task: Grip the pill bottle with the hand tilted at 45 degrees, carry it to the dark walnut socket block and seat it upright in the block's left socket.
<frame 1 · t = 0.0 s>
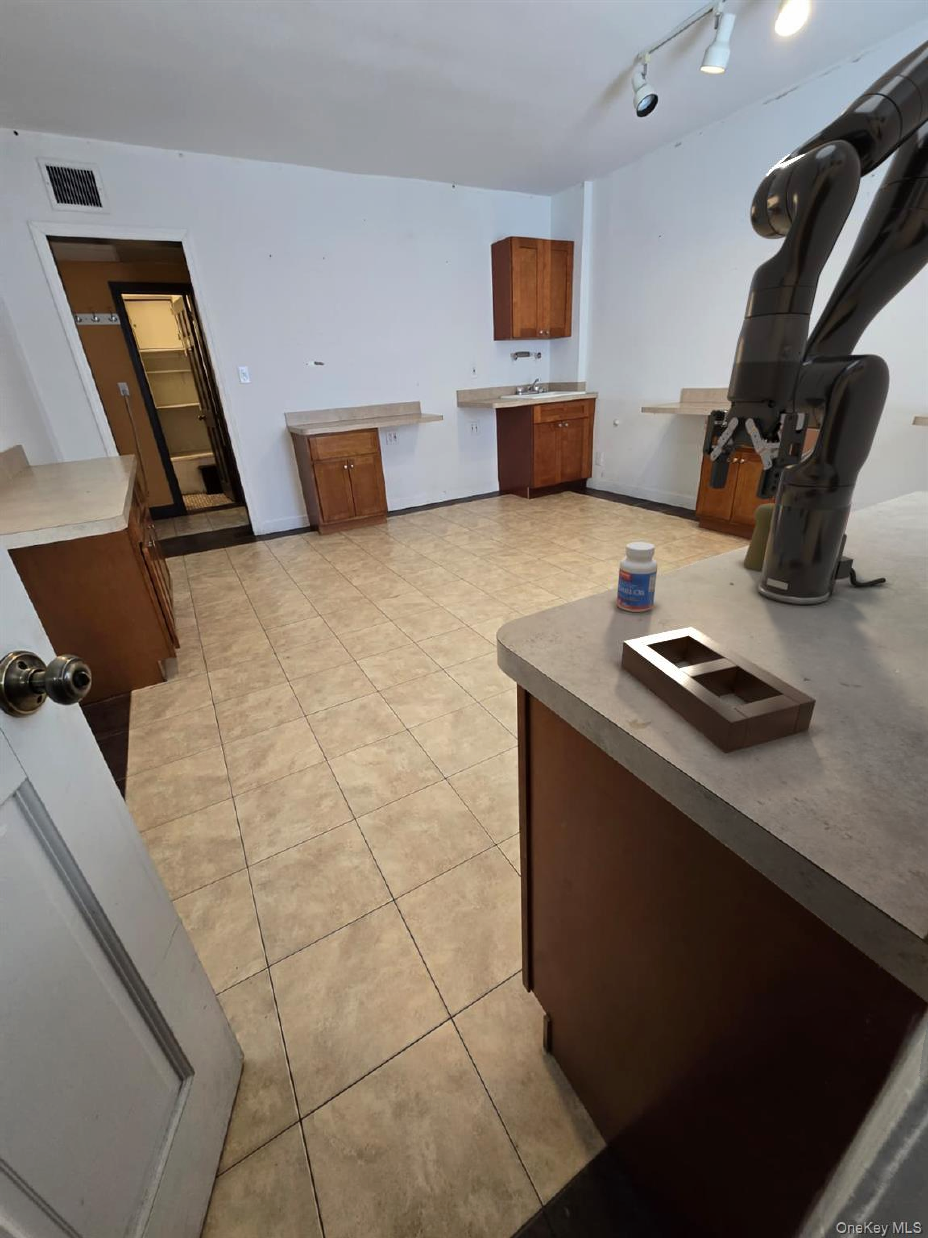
hand: (739, 493, 70), 17 cm above the countertop, tool pointing down, fingers open, 8 cm apart
pill bottle: (634, 607, 80), on the countertop
socket block: (703, 694, 57), on the countertop
soda can: (815, 556, 95), on the countertop
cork: (761, 566, 92), on the countertop
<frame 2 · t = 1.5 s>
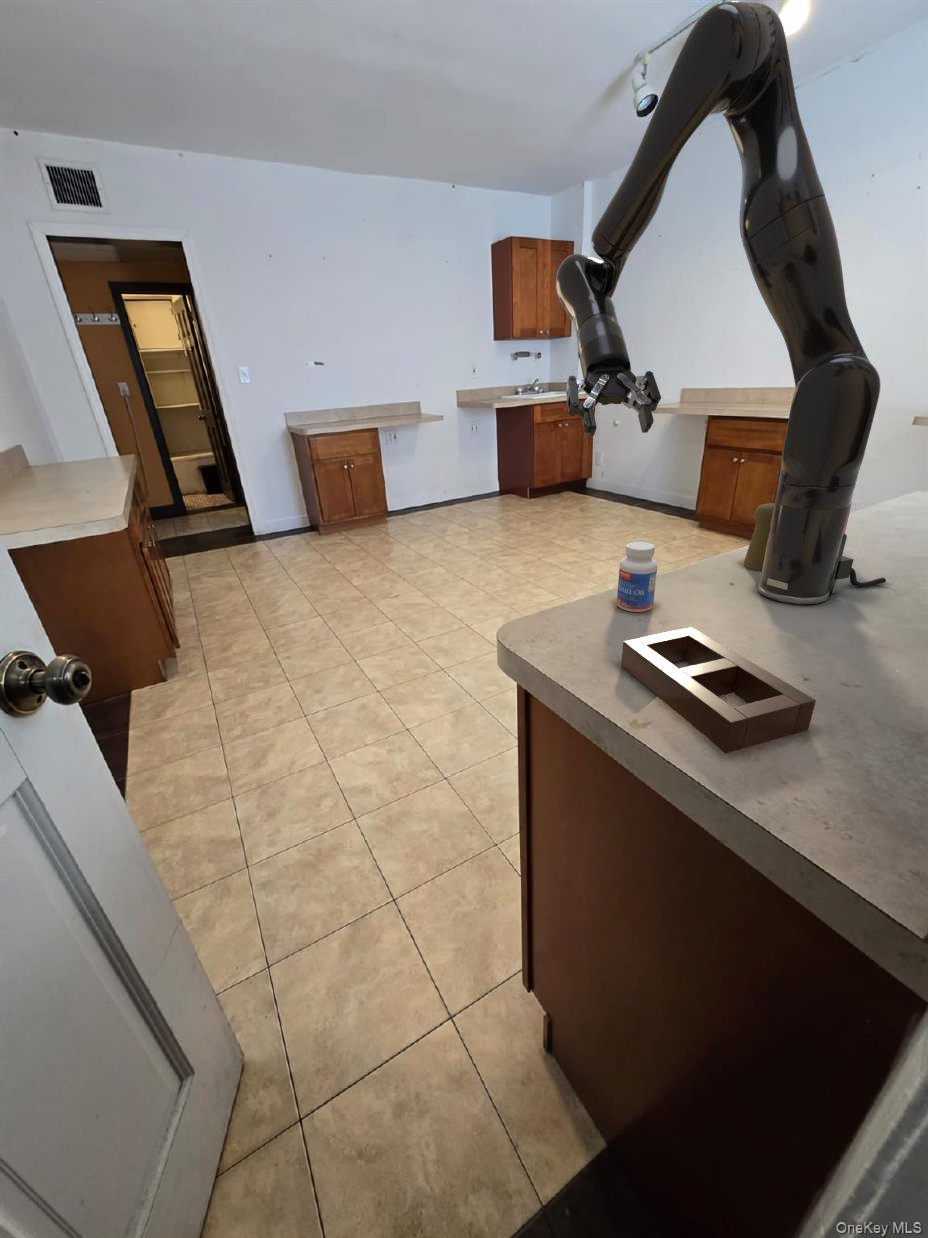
hand: (620, 430, 80), 25 cm above the countertop, tool tilted 45°, fingers open, 8 cm apart
nothing on the countertop moved.
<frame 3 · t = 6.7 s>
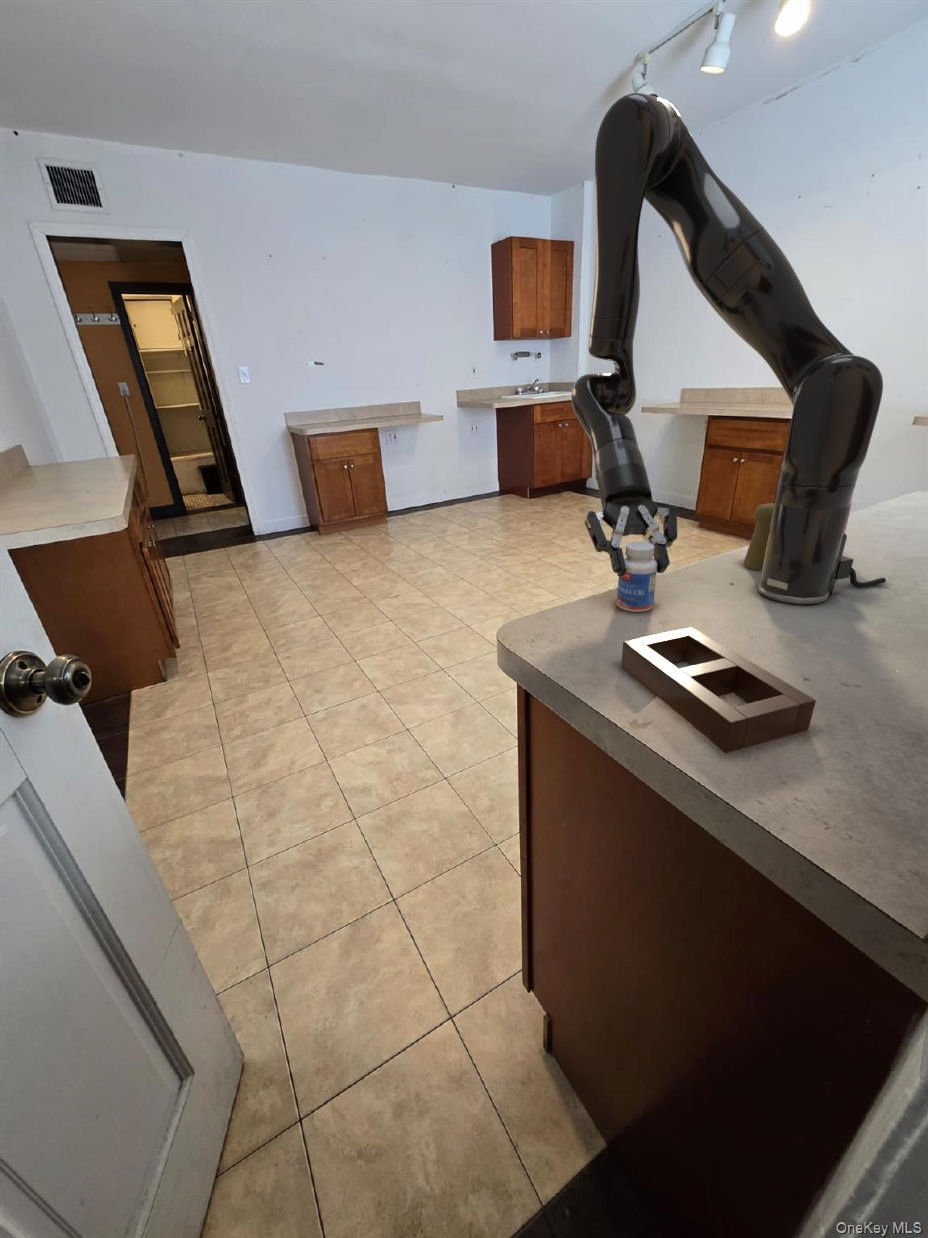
hand: (642, 571, 75), 6 cm above the countertop, tool tilted 45°, fingers closed on pill bottle, 5 cm apart
pill bottle: (634, 607, 80), on the countertop, touching gripper
everything else where it was.
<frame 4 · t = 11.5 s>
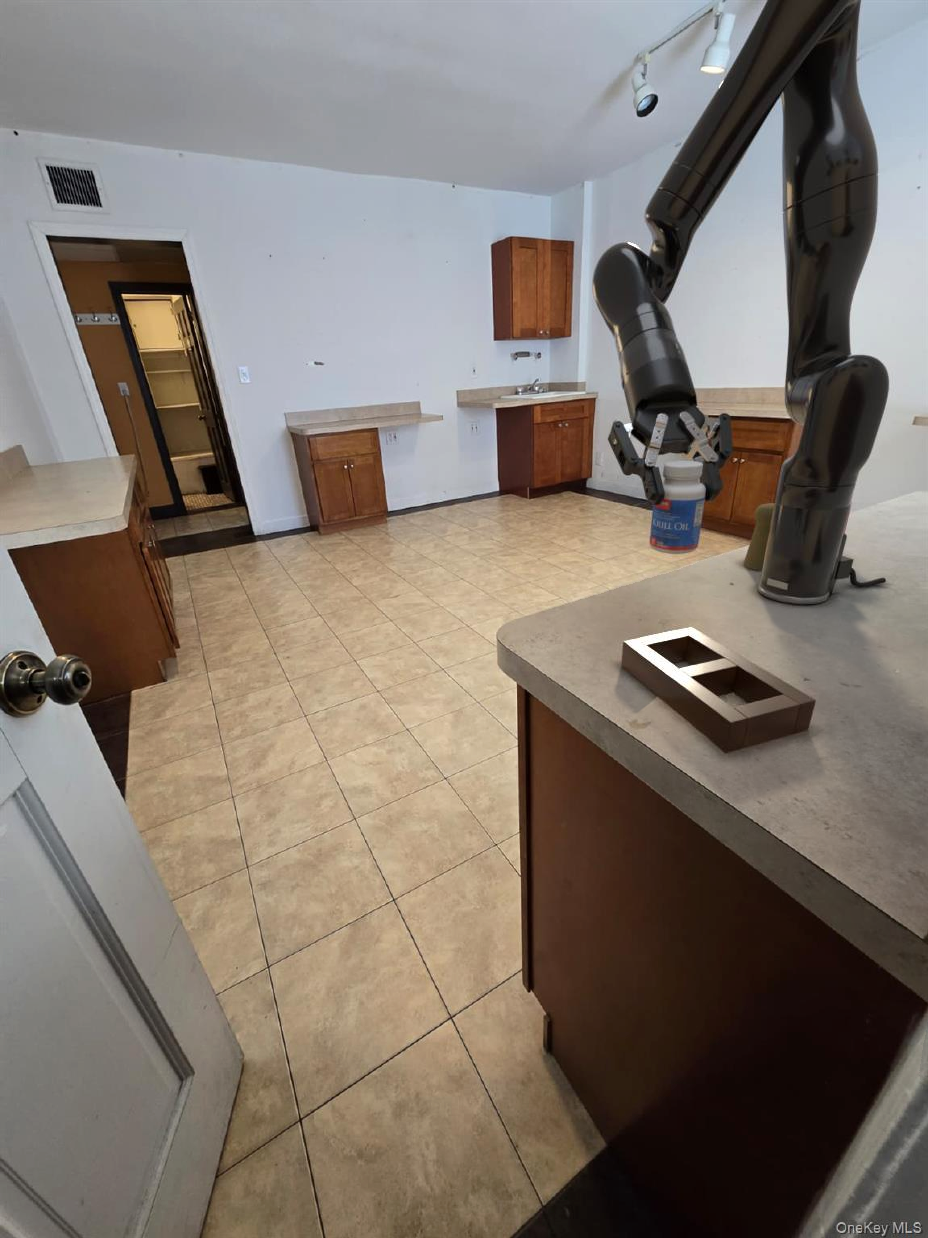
hand: (686, 498, 57), 20 cm above the countertop, tool tilted 45°, fingers closed on pill bottle, 5 cm apart
pill bottle: (673, 549, 61), point 14 cm above the countertop, touching gripper
everything else where it was.
when the fingers open (6 cm above the countertop, at t = 16.6 s): pill bottle stays where it is, resting in socket block.
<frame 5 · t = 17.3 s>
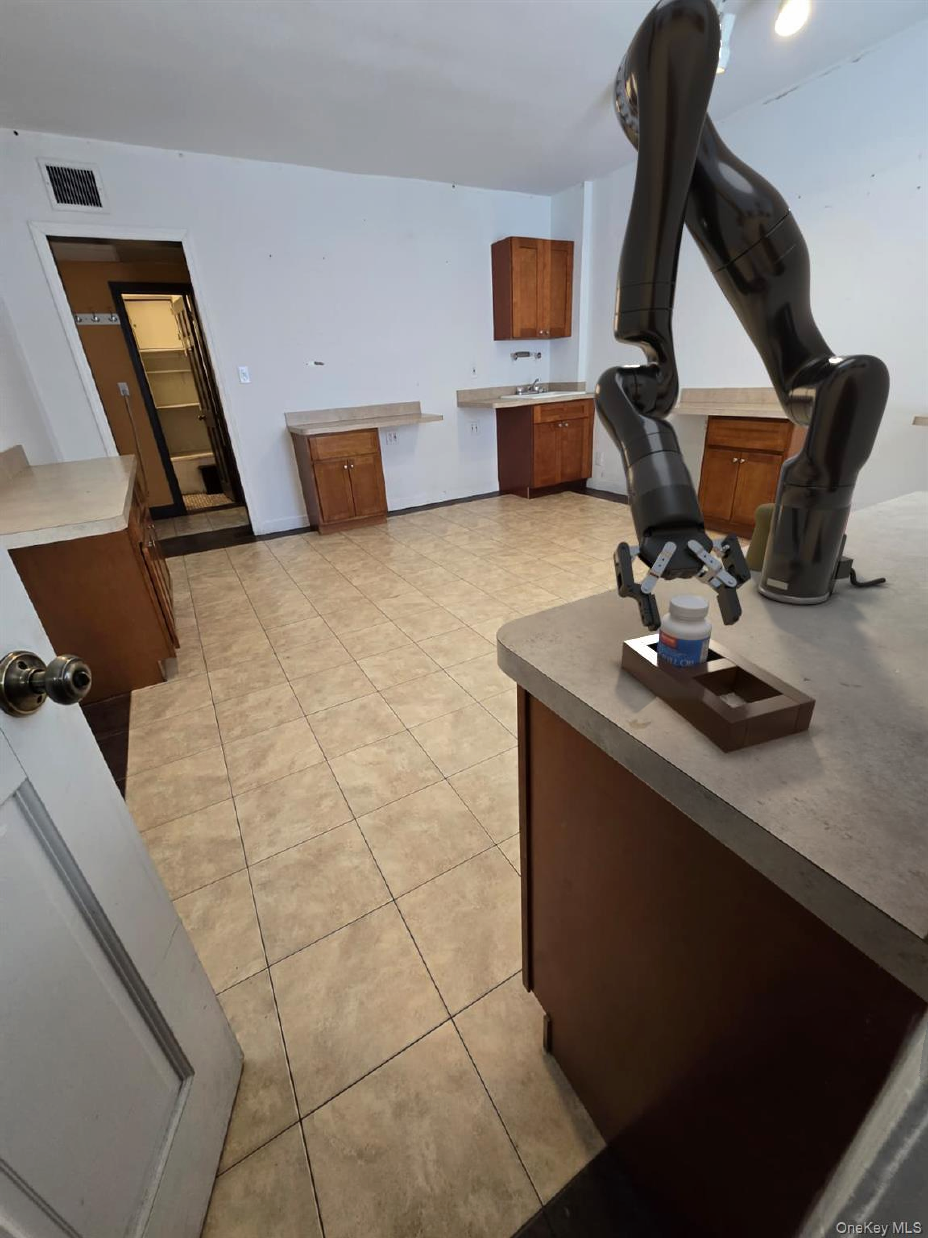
hand: (693, 626, 56), 7 cm above the countertop, tool tilted 45°, fingers open, 8 cm apart
pill bottle: (678, 678, 61), resting in socket block
everything else where it was.
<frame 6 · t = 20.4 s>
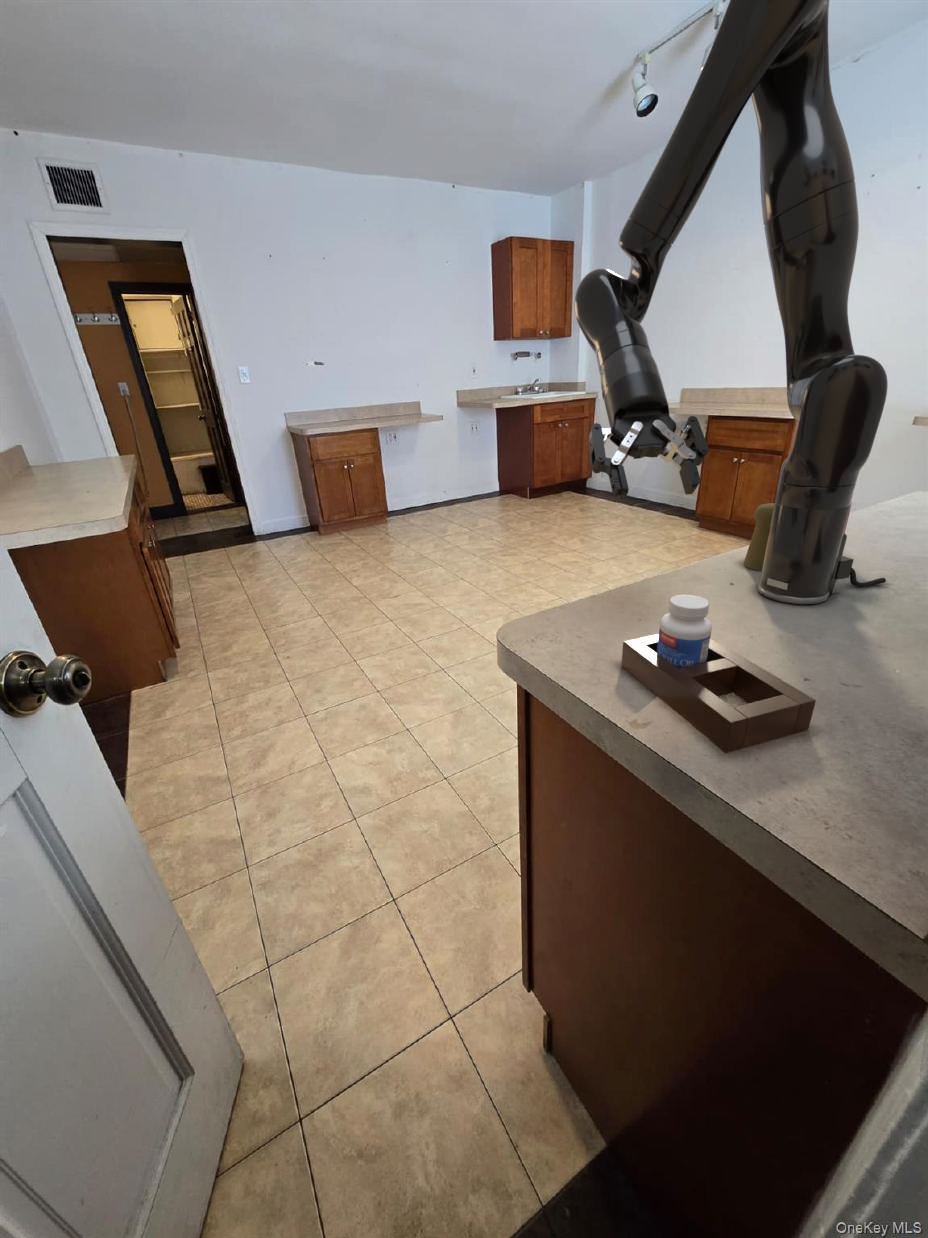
hand: (658, 493, 63), 19 cm above the countertop, tool tilted 45°, fingers open, 8 cm apart
nothing on the countertop moved.
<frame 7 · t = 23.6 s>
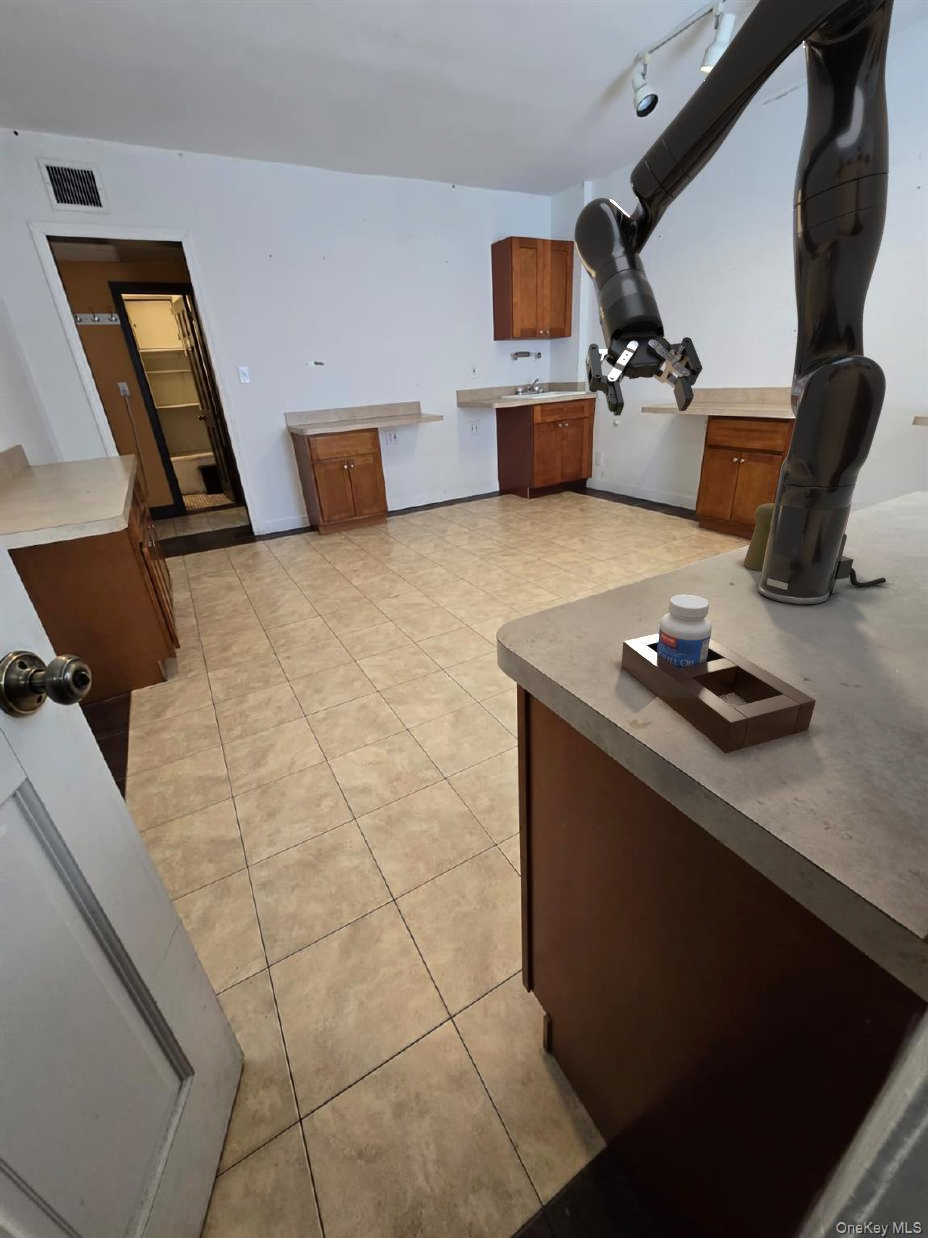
hand: (652, 408, 65), 29 cm above the countertop, tool tilted 45°, fingers open, 8 cm apart
nothing on the countertop moved.
at the end: pill bottle 0.3 cm from the target spot in the socket block, point 0.0 cm above the socket block's base; pill bottle tilted 0°; the gripper is holding nothing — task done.
